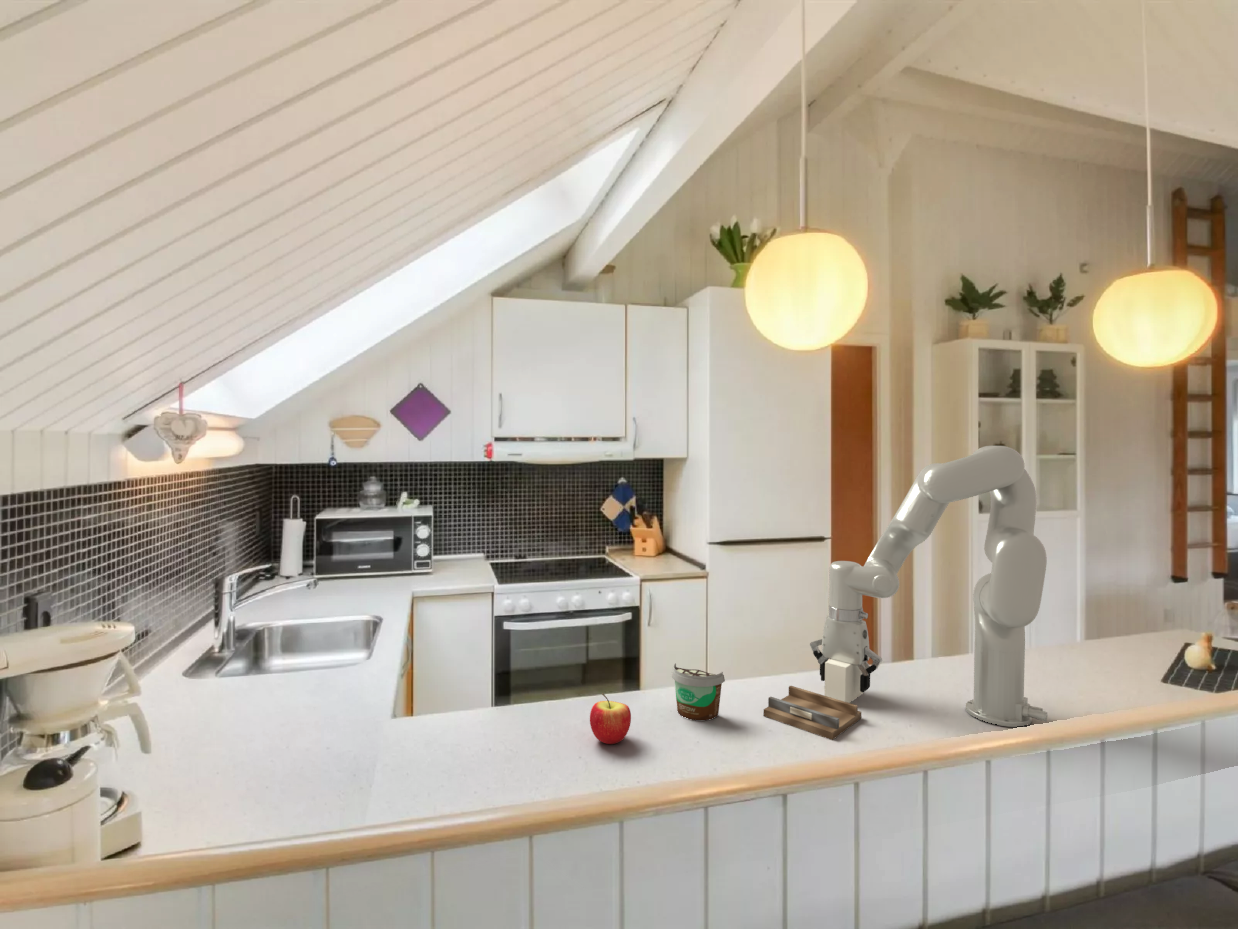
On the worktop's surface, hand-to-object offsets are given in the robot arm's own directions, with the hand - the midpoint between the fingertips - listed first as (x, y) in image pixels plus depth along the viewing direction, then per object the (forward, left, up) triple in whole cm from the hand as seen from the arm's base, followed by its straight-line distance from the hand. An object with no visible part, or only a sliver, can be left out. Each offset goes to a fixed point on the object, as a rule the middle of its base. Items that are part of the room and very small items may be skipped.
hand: (844, 684), depth 149 cm
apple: (+24, +55, -3) cm, 60 cm away
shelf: (0, +16, -3) cm, 16 cm away
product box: (0, 0, -3) cm, 3 cm away
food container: (+19, +34, -3) cm, 39 cm away
